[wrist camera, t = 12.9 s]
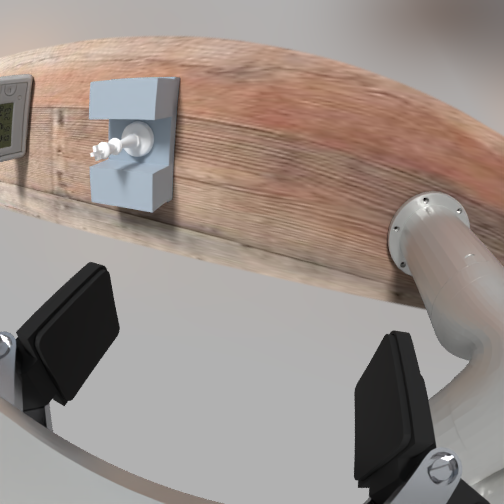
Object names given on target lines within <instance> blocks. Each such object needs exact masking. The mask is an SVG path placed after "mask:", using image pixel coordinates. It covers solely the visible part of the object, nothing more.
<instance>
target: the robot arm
mask: <svg viewBox="0 0 504 504" xmlns="http://www.w3.org/2000/svg"><path fill="white" fill-rule="evenodd" d="M424 198H425V200H423V199H424ZM457 209H458V210H457ZM396 226H397V227H396ZM394 227H396V228H394ZM388 247H389V252H390V254H391V257H392V259H393V261H394V262H395V264H396V265H397V267H398V268H399V269H400V270H402V271H403V272H404V273H406V274H408V275H410V276H413V278H414V281H415V283H416V285H417V288H418V290H419V293H420V295H421V297H422V300H423V302H424V305H425V307H426V310H427V312H428V315H429V318H430V320H431V323H432V326H433V328H434V331H435V334H436V336H437V338H438V340H439V342H440V343H441V345H442V346H443V347H444V348H445V349H446V350H447V351H448V352H450V353H451V354H453V355H455V356H457V357H459V358H462V359H465V360H469V363H468V364H467V366H466V367H465V368H464V369H463V370H462V371H461V372H460V373H459V374H458V375H457V376H456V377H454V379H453V380H452V381H451V382H450V383H449V384H448V385H446V386H445V387H444V388H443V389H441V390H440V391H439V392H438V393H437V394H435V395H434V396H433V397H431V398H430V399H429V400H428V396H427V391H426V387H425V382H424V379H423V377H422V376H421V374H420V370H419V366H418V362H417V358H416V354H415V350H414V346H413V343H412V339H411V336H410V334H409V333H406V332H400V331H392V332H391V333H390V334H386V335H385V336H384V338H383V340H382V341H381V343H380V345H379V347H378V349H377V351H376V352H375V354H374V356H373V358H372V359H371V361H370V363H369V365H368V366H367V368H366V370H365V371H364V373H363V375H362V377H361V378H360V380H359V381H358V383H357V385H356V388H355V462H354V478H355V480H358V488H369V498H368V500H367V501H366V502H365V503H364V504H504V267H503V266H502V264H501V263H500V262H499V261H498V260H497V258H496V257H495V256H494V255H493V254H492V253H491V252H490V250H489V249H488V248H487V247H486V245H485V244H483V243H482V241H481V240H480V239H479V238H478V237H477V236H476V235H475V234H474V233H473V232H472V231H471V230H470V223H469V219H468V215H467V213H466V211H465V209H464V208H463V207H462V205H461V204H460V203H459V202H458V201H457V200H456V199H454V198H453V197H451V196H450V195H448V194H445V193H442V192H436V191H430V192H424V193H421V194H418V195H415V196H414V197H412V198H410V199H409V200H407V201H406V202H405V203H404V204H403V205H402V206H401V207H400V208H399V209H398V211H397V212H396V213H395V215H394V217H393V219H392V221H391V224H390V226H389V231H388ZM119 329H120V327H119V323H118V318H117V312H116V307H115V302H114V297H113V291H112V285H111V280H110V274H109V272H108V271H107V269H106V267H105V266H103V265H99V264H96V263H93V262H89V263H88V264H87V265H86V266H84V267H83V268H82V269H81V270H80V271H79V272H78V273H76V274H75V275H74V276H73V277H72V278H71V279H70V280H69V281H68V282H67V283H66V284H65V285H63V286H62V287H61V288H60V289H59V290H58V291H57V292H56V293H55V294H54V295H53V296H52V297H51V298H50V299H49V300H48V301H46V302H45V303H44V304H43V305H42V306H41V308H39V309H38V310H37V311H36V312H35V313H34V314H33V315H32V316H31V317H30V318H29V320H27V321H26V322H25V323H24V324H23V326H22V327H21V328H20V329H19V330H18V331H17V332H16V333H17V335H18V338H17V339H16V340H15V338H14V336H13V335H12V334H11V333H8V332H0V504H223V503H218V502H215V501H211V500H207V499H203V498H200V497H196V496H193V495H190V494H186V493H183V492H180V491H177V490H174V489H171V488H168V487H165V486H163V485H160V484H157V483H154V482H152V481H149V480H147V479H144V478H142V477H139V476H137V475H134V474H132V473H129V472H127V471H125V470H123V469H121V468H118V467H116V466H114V465H112V464H110V463H108V462H106V461H104V460H102V459H100V458H97V457H96V456H94V455H91V454H90V453H88V452H86V451H84V450H82V449H80V448H79V447H77V446H75V445H73V444H72V443H70V442H68V441H67V440H64V439H63V438H62V437H60V436H58V435H57V434H55V433H53V430H52V422H51V414H50V406H49V402H50V401H51V399H52V398H53V399H54V400H55V401H57V402H58V403H60V404H62V405H63V406H65V405H66V403H67V401H71V400H72V399H73V398H74V397H75V395H76V394H77V392H78V391H79V389H80V388H81V387H82V385H83V384H84V382H85V380H86V379H87V378H88V376H89V375H90V374H91V372H92V371H93V369H94V368H95V366H96V365H97V364H98V362H99V361H100V359H101V358H102V357H103V355H104V354H105V352H106V351H107V350H108V348H109V347H110V345H111V344H112V343H113V341H114V340H115V338H116V337H117V336H118V333H119Z"/></svg>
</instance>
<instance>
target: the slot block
mask: <svg viewBox="0 0 504 504" xmlns="http://www.w3.org/2000/svg"><path fill="white" fill-rule="evenodd" d="M179 84H180V78H179V77H147V78H126V79H112V80H106V81H96V82H91V84H90V103H89V119H109V141H110V140H111V139H112V138H117V139H119V140H122V133H123V131H124V129H125V128H126V127H127V126H128V125H129V124H131V123H133V122H136V121H141V122H144V123H146V124H147V125H149V127H150V128H151V129H152V131H153V135H154V144H153V147H152V149H151V150H150V152H149V153H147V154H146V155H144V156H140V157H134V156H131V155H129V154H128V153H127V152H126V151H125V150H124V148H123V149H122V150H121V152H120V153H119V154H118V155H112V154H111V155H110V156H109V159H108V160H106V161H103V162H101V163H98V164H96V165H93V166H91V167H90V184H91V198H92V202H96V203H101V204H107V205H113V206H119V207H124V208H130V209H136V210H141V211H147V212H152V213H153V212H154V211H155V210H156V209H158V208H159V207H160V206H162V205H163V204H164V203H165V202H169V201H170V200H172V195H173V166H174V147H175V131H176V117H177V105H178V94H179Z"/></svg>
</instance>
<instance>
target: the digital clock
mask: <svg viewBox="0 0 504 504" xmlns="http://www.w3.org/2000/svg"><path fill="white" fill-rule="evenodd" d="M32 81H33V77H32V75H31V74H22V75H12V76H3V77H0V162H3V161H7V160H12V159H16V158H20V157H23V156H24V155H25V152H26V138H27V135H28V121H29V111H30V102H31V94H32V92H31V87H32Z"/></svg>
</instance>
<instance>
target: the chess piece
mask: <svg viewBox="0 0 504 504" xmlns="http://www.w3.org/2000/svg"><path fill="white" fill-rule="evenodd" d="M153 144H154V135H153V131H152V129H151V128H150V127H149V125H147V124H146V123H144V122H141V121H136V122H133V123H131V124H129V125H128V126H127V127H126V128H125V129H124V131H123V133H122V140H119V139H117V138H112V139H111V140H110V141H109V142H108V143H107V142H101V143H99V144H98V145H96V146H93V151H94V152H93V153H90V154H91V157H93V156H95V160H96V161H98V160H101V159H106V158H108V157H109V156H110V155H111V154H112V155H118V154H119V153H120V152H121V150H122V149H123V148H124V150H125V151H126V152H127V153H128V154H129V155H131V156H134V157H140V156H144V155H146V154H147V153H149V152H150V150H151V149H152V147H153Z"/></svg>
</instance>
